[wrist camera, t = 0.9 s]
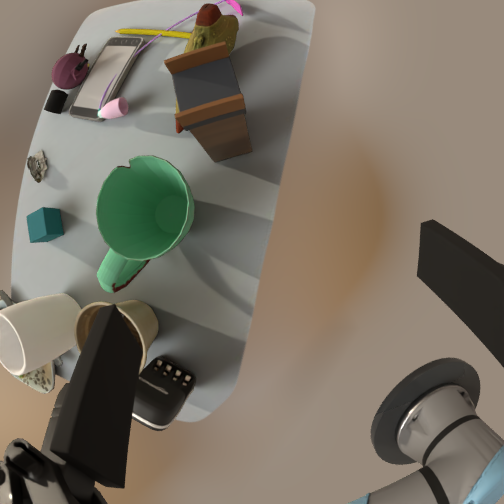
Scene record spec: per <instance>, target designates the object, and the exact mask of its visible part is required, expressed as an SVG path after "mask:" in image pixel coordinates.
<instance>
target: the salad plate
mask: <svg viewBox="0 0 504 504" xmlns="http://www.w3.org/2000/svg"><path fill="white" fill-rule="evenodd" d="M0 296H1V299H0V310H2V309H4V308H6V307H9V306H11V305H14V304H16V303H15V302H13V301H12V300H11V299H10V298H9V297H8V295H7V294H6V293H5V292H4V291H3V290H0ZM54 363H55V364H56V365H57V366H62V363H63V362H62V359H61V358H60V357H57V358H56V359H54V360H52V361H50V362H49V363H47V364H45V365H43V366H41V367H39V368H37V369H35V370H33V371H30V372H28V373H26V374H23V375H20V376H17V375H13V374H12V373H11V374H12V375H13V376H14V377H15V378H17V379H18V380H20V381H21V382H23V383H25V384H27V385H28V386H30V387H32V388H33V389H35V390H37V391H39V392H41V393H44V394H45V393H49V392H50V391H51V390H53V389H54V385H55V364H54Z"/></svg>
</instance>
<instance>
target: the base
mask: <svg viewBox="0 0 504 504" xmlns="http://www.w3.org/2000/svg"><path fill="white" fill-rule="evenodd" d="M164 63H165V65H166V67H167V68H168V70H169V71H170V73H171V74H172V79H173V84H174V88H175V93H176V98H177V103H178V108H179V113H176V114H175V119H176V120H177V121H178V122H179V123H180V125H181V126H182V127H183V128H184V129H185V130H186V131H188V130H191V129H194V128H197V127H200V126H203V125H207V124H210V123H213V122H216V121H220V120H223V119H227V118H230V117H234V116H238V115H241V114H245V113H246V108H245V103H244V98H243V94H241V92H240V89H239V86H238V82H237V79H236V76H235V73H234V70H233V67H232V64H231V61H230V58H229V54H228V50H227V45H226V42H225V41H224V42H221V43H217V44H213V45H210V46H206V47H203V48H200V49H196V50H193V51H190V52H187V53H184V54H181V55H178V56H175V57H172V58H170V59H167V60H164Z"/></svg>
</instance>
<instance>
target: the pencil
mask: <svg viewBox="0 0 504 504" xmlns="http://www.w3.org/2000/svg"><path fill="white" fill-rule="evenodd" d="M115 32H118V33H120V34H142V35H159V34H161V33H162V35H161V36H170V37H179V38H187V39H189V38H190V36H191V34H192V33H187V32H178V31H166V30H151V29H119V30H117V31H115Z"/></svg>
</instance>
